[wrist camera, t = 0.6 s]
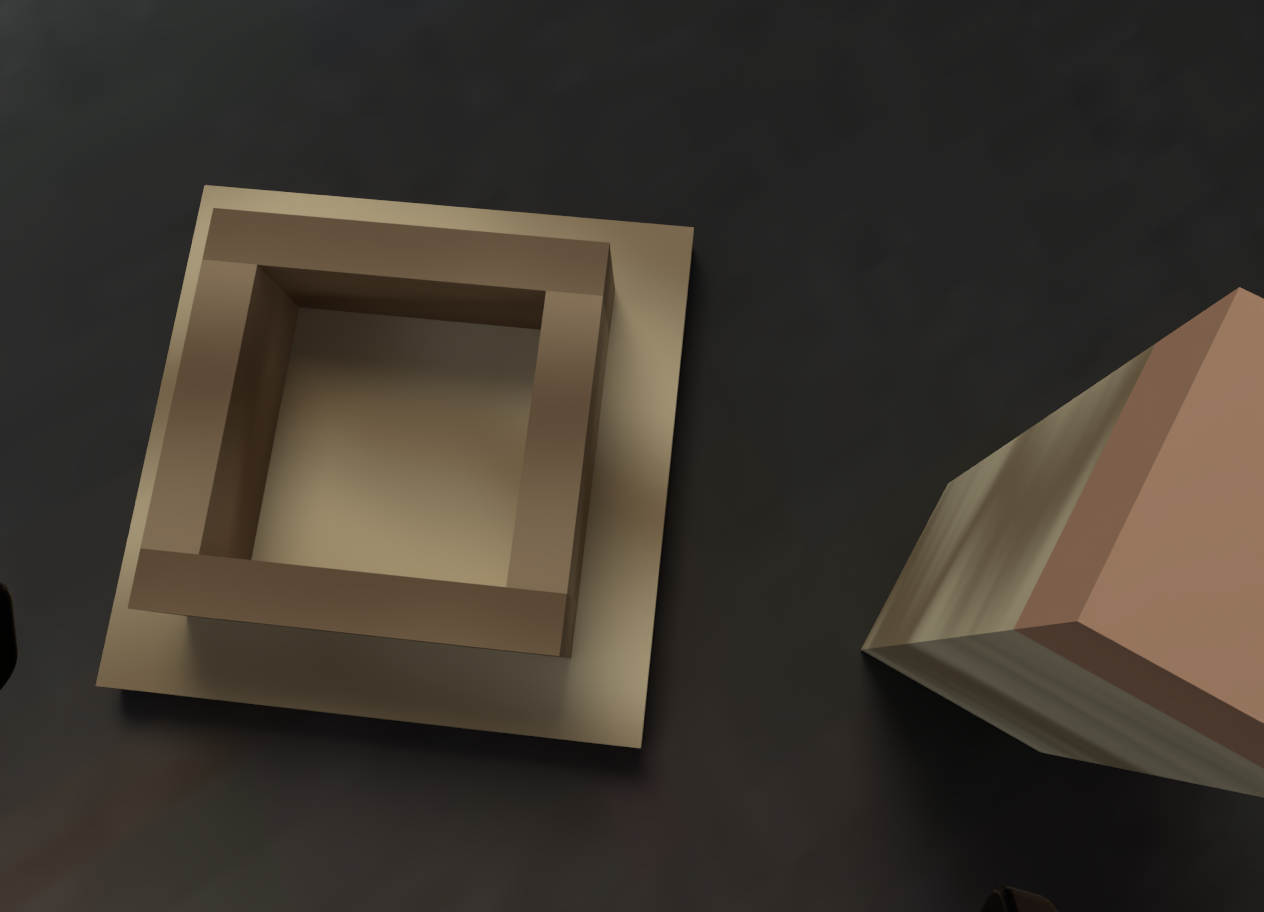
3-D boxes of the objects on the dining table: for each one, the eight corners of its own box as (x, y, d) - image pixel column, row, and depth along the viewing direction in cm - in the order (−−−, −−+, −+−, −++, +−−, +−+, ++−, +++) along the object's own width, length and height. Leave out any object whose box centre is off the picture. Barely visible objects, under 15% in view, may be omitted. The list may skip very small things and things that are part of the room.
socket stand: (641, 745, 22) (637, 758, 19) (120, 685, 23) (23, 687, 19) (692, 245, 25) (697, 176, 21) (222, 204, 25) (153, 130, 22)
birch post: (1040, 752, 22) (1476, 839, 10) (860, 649, 22) (1077, 621, 11) (1123, 578, 23) (1619, 473, 11) (947, 483, 23) (1239, 287, 11)
